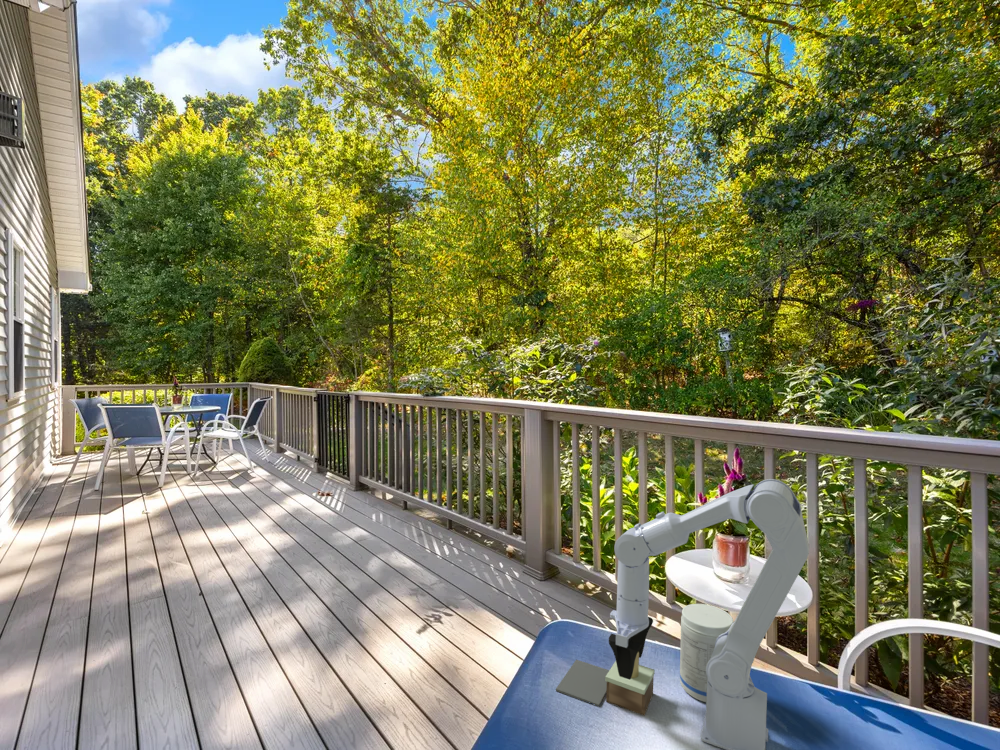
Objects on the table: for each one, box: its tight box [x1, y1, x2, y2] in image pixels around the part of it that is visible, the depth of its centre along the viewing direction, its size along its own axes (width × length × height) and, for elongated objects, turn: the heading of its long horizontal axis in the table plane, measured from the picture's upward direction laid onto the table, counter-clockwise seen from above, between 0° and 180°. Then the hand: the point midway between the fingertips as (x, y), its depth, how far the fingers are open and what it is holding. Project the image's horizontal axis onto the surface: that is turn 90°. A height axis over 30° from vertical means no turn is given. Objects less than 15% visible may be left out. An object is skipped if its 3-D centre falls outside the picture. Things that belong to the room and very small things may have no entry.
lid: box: [605, 652, 656, 695], centre depth 94 cm, size 7×7×6 cm
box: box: [605, 675, 655, 717], centre depth 94 cm, size 7×7×4 cm
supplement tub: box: [679, 603, 735, 703], centre depth 96 cm, size 10×10×15 cm
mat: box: [555, 659, 610, 707], centre depth 98 cm, size 8×11×1 cm
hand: (630, 665), depth 93 cm, fingers open, 7 cm apart
